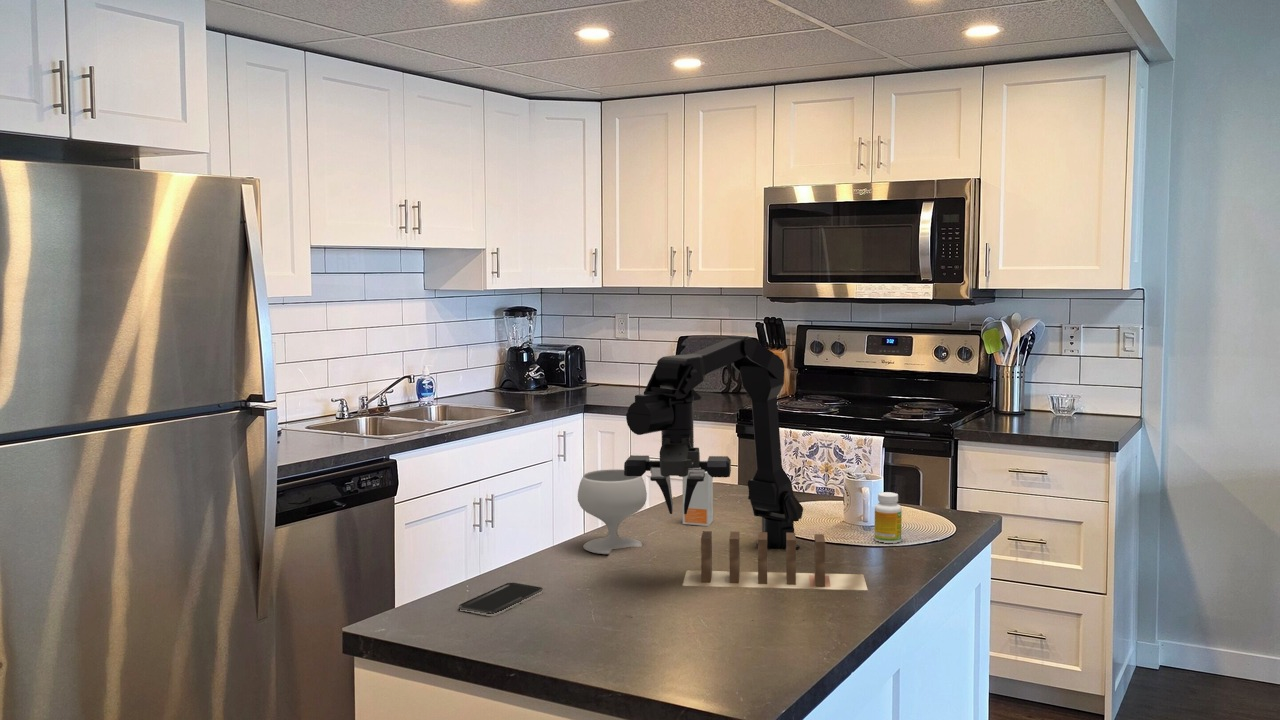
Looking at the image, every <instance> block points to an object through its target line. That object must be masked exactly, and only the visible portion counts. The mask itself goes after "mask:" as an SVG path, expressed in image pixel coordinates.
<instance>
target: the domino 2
mask: <svg viewBox="0 0 1280 720" xmlns="http://www.w3.org/2000/svg"><path fill="white" fill-rule="evenodd" d="M728 547H729V551H728V552H729V554H728V556H729V559H728V560H729V571H730V583H739V576H740V572H741V570H740V566H741V565H740V554H741V553H740V531H730V533H729V546H728Z"/></svg>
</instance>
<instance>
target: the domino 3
mask: <svg viewBox="0 0 1280 720" xmlns="http://www.w3.org/2000/svg"><path fill="white" fill-rule="evenodd" d="M757 543H758V546H757V572H758V584H767V572H768V549H767V532H762V531H759V532H758V533H757Z"/></svg>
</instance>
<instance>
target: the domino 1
mask: <svg viewBox="0 0 1280 720" xmlns="http://www.w3.org/2000/svg"><path fill="white" fill-rule="evenodd" d="M712 532H713V531H711V530H708V531H707V530H704V531H703V530H702V534H701V537H700V558H701V559H700V560H701V561H700V562H701V563H700V571H701V583H710V582H711V577H712V571H713V554H712V553H713V541H712V539H713V535H712V534H713V533H712Z"/></svg>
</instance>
